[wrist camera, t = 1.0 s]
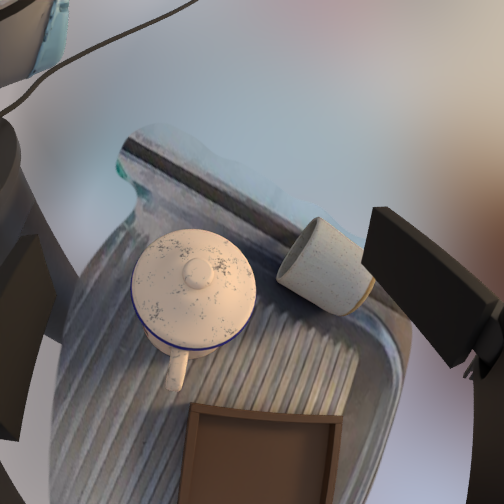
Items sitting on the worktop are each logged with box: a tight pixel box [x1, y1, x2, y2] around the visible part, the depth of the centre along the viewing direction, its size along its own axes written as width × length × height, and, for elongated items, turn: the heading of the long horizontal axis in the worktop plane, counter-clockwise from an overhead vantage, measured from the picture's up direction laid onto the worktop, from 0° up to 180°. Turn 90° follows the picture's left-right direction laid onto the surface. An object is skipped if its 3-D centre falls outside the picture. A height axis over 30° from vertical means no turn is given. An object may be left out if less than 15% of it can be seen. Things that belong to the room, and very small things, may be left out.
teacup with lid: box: [130, 229, 256, 392], centre depth 24 cm, size 12×9×12 cm
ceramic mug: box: [276, 217, 375, 316], centre depth 33 cm, size 11×8×8 cm
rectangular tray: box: [177, 402, 343, 504], centre depth 24 cm, size 15×15×2 cm
